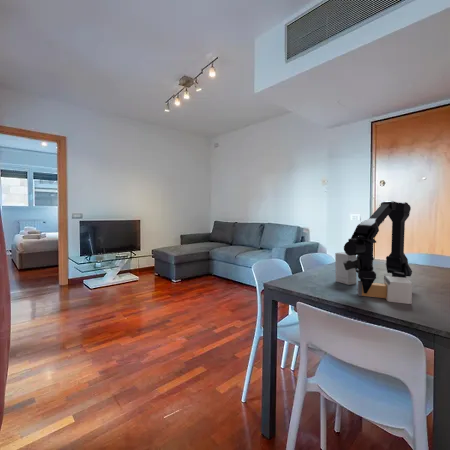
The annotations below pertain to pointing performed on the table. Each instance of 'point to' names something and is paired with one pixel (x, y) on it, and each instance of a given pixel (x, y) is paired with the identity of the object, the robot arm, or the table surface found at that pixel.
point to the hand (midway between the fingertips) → (364, 290)
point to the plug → (373, 290)
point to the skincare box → (341, 273)
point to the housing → (398, 289)
